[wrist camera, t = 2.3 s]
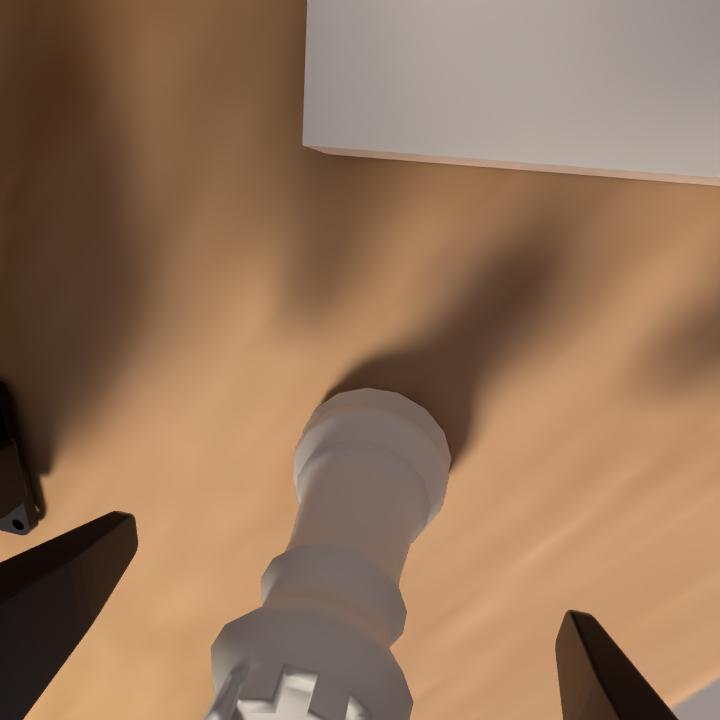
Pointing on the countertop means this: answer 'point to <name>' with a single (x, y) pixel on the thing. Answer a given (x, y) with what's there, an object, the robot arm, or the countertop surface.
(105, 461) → the countertop surface
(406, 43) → the socket block
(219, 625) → the countertop surface
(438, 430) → the rook chess piece
